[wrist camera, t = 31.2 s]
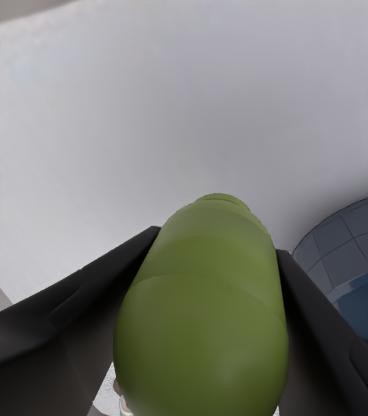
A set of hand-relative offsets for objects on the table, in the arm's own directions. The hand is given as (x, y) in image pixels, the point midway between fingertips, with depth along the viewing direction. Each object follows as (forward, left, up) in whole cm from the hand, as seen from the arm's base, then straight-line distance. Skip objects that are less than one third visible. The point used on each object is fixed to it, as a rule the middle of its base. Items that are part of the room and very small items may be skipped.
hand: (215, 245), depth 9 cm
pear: (0, 0, -2) cm, 2 cm away
